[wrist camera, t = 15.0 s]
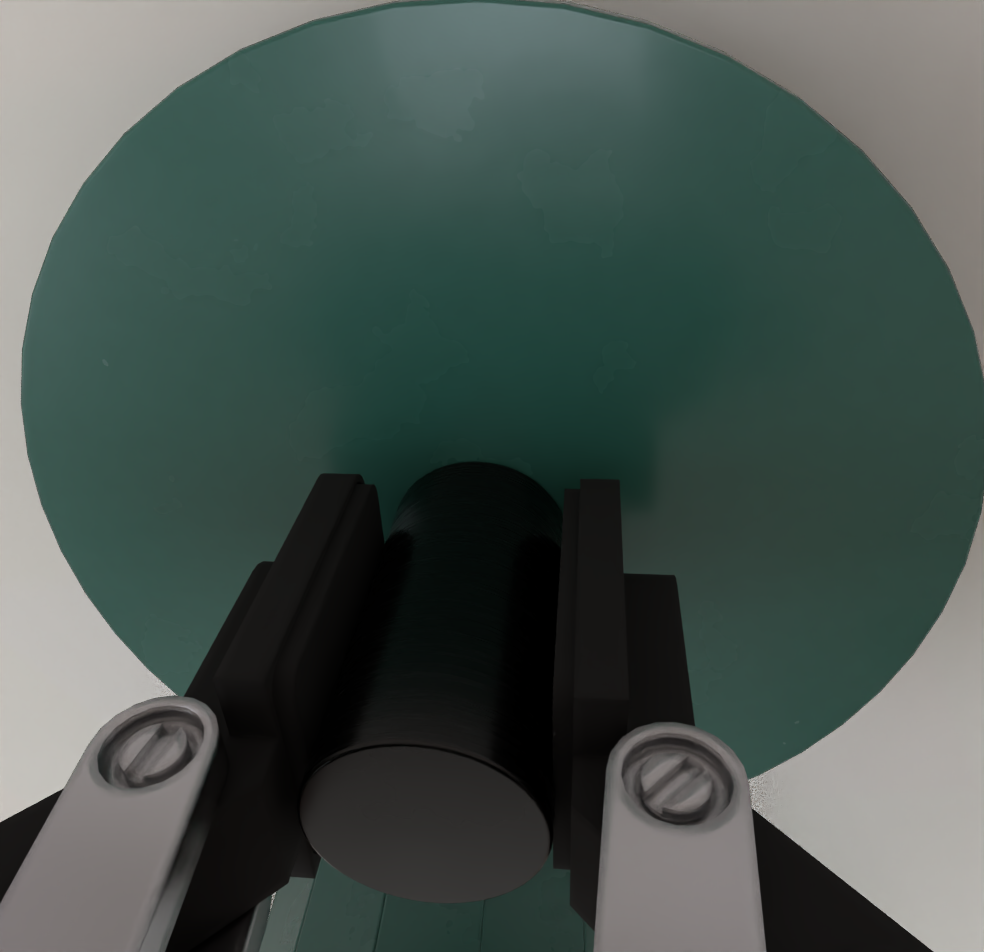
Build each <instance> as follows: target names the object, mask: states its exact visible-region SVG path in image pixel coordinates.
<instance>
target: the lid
mask: <svg viewBox="0 0 984 952" xmlns="http://www.w3.org/2000/svg"><path fill="white" fill-rule="evenodd" d="M21 408H22V415H23V423H24V431H25V438H26V446H27V454H28V458H29V462H30V465H31V469H32V473H33V476H34V480H35V483H36V487H37V491H38V494H39V498H40V501H41V505H42V507H43V510H44V512H45V514H46V517H47V519H48V521H49V524H50V526H51V528H52V531H53V533H54V536H55V538H56V540H57V543H58V545H59V547H60V550H61V552H62V553H63V555H64V557H65V559H66V560H67V562H68V564H69V566H70V567H71V569H72V571H73V573H74V574H75V576H76V578H77V579H78V581H79V583H80V585H81V586H82V588H83V590H84V592H85V593H86V595H87V596H88V597H89V599H90V600H91V602H92V603H93V604H94V606H95V607H96V608H97V610H98V611H99V612H100V614H101V615H102V616H103V618H104V619H105V620H106V622H107V623H108V625H109V626H110V627H111V629H112V630H113V631H114V633H115V634H116V635H117V636H118V637H119V638H120V639H121V640H122V641H123V642H124V644H125V645H126V646H127V647H128V648H129V649H130V650H131V651H132V652H133V653H134V654H135V656H136V657H137V658H138V659H139V660H140V661H141V662H142V663H143V664H144V665H145V666H146V668H147V669H148V670H150V671H151V672H152V673H153V674H154V675H155V676H156V677H157V678H159V679H160V680H161V681H162V682H163V683H164V684H165V685H166V686H167V687H169V688H170V689H171V690H172V691H173V692H174V693H175V694H176V695H178V696H183V697H184V695H185V693H186V691H187V689H188V688H189V686H190V684H191V682H192V680H193V679H194V677H195V675H196V673H197V671H198V669H199V668H200V666H201V664H202V662H203V660H204V659H205V657H206V655H207V653H208V651H209V649H210V648H211V646H212V644H213V642H214V640H215V639H216V637H217V635H218V633H219V631H220V629H221V628H222V626H223V624H224V622H225V620H226V618H227V617H228V615H229V613H230V611H231V609H232V608H233V606H234V604H235V602H236V600H237V598H238V597H239V595H240V593H241V591H242V589H243V588H244V586H245V584H246V582H247V580H248V578H249V577H250V575H251V573H252V571H253V570H254V568H255V567H256V566H257V564H259V563H261V562H263V561H275V559H276V557H277V555H278V553H279V551H280V549H281V547H282V545H283V543H284V541H285V540H286V538H287V536H288V534H289V532H290V530H291V528H292V526H293V524H294V522H295V520H296V519H297V517H298V515H299V513H300V511H301V509H302V507H303V505H304V503H305V501H306V499H307V498H308V496H309V494H310V492H311V490H312V488H313V486H314V484H315V482H316V480H317V478H318V477H319V476H320V474H323V473H335V474H360V475H361V476H362V477H363V480H364V483H365V484H374V485H375V486H376V488H377V493H378V499H379V506H380V514H381V521H382V528H383V536H384V543H385V546H384V549H383V552H382V555H381V558H380V560H379V563H378V566H377V569H376V572H375V575H374V578H373V580H372V583H371V586H370V589H369V592H368V595H367V597H366V600H365V603H364V606H363V609H362V612H361V614H360V617H359V620H358V623H357V626H356V629H355V632H354V634H353V637H352V640H351V643H350V646H349V649H348V651H347V654H346V657H345V660H344V663H343V666H342V668H341V671H340V674H339V677H338V680H337V683H336V686H335V688H334V691H333V694H332V697H331V700H330V703H329V705H328V708H327V711H326V714H325V717H324V720H323V722H322V725H321V728H320V731H319V734H318V737H317V740H316V742H315V745H314V748H313V751H312V754H311V757H310V759H309V762H308V765H307V768H306V771H305V774H304V776H303V779H302V782H301V785H300V788H299V791H298V794H297V803H296V805H297V815H298V820H299V823H300V827H301V829H302V831H303V833H304V835H305V837H306V839H307V840H308V842H309V843H310V845H311V846H312V847H313V849H314V850H315V851H316V852H317V853H318V854H319V855H320V856H321V857H322V858H323V859H324V860H325V861H326V862H328V863H329V864H330V865H331V866H332V867H334V868H335V869H337V870H338V871H339V872H341V873H342V874H344V875H346V876H347V877H349V878H351V879H353V880H354V881H356V882H358V883H360V884H363V885H365V886H367V887H369V888H372V889H374V890H377V891H380V892H382V893H385V894H389V895H392V896H396V897H400V898H404V899H409V900H414V901H421V902H428V903H443V904H446V903H468V902H476V901H482V900H487V899H491V898H494V897H498V896H501V895H504V894H506V893H509V892H511V891H513V890H515V889H517V888H519V887H521V886H522V885H524V884H525V883H527V882H528V881H529V880H531V879H532V878H533V877H534V876H535V875H536V874H537V873H538V872H539V871H540V870H541V868H542V867H543V865H544V864H545V862H546V861H547V859H548V857H549V854H550V852H551V849H552V844H553V837H554V816H555V788H554V783H553V725H552V713H553V678H554V660H555V643H556V626H557V609H558V592H559V575H560V558H561V542H562V525H563V508H564V491H565V489H580V479H615V480H620V500H621V524H622V547H623V570H624V573H630V574H660V575H675V577H676V581H677V586H678V594H679V602H680V610H681V618H682V626H683V634H684V642H685V650H686V658H687V665H688V673H689V681H690V689H691V697H692V705H693V713H694V721H695V726H696V727H698V728H700V729H702V730H704V731H707V732H709V733H711V734H713V735H715V736H717V737H718V738H719V739H720V740H721V741H723V742H724V743H725V744H726V745H727V746H729V747H730V748H731V749H732V750H733V751H734V753H735V754H736V756H737V757H738V758H739V760H740V761H741V763H742V764H743V766H744V768H745V772H746V775H747V778H748V780H749V779H751V778H754V777H756V776H759V775H761V774H762V773H764V772H766V771H768V770H770V769H772V768H774V767H776V766H777V765H779V764H781V763H783V762H785V761H787V760H789V759H791V758H792V757H794V756H796V755H798V754H800V753H802V752H803V751H805V750H806V749H808V748H809V747H811V746H812V745H814V744H815V743H816V742H818V741H819V740H821V739H822V738H824V737H825V736H827V735H828V734H830V733H831V732H833V731H834V730H836V729H837V728H839V727H840V726H841V725H843V724H844V723H845V722H846V721H847V720H849V719H850V718H851V717H852V716H853V715H854V714H855V713H857V712H858V711H859V710H860V709H861V708H862V707H863V706H865V705H866V704H867V703H868V702H869V701H870V700H872V699H873V698H874V697H875V696H876V695H877V694H878V693H880V692H881V690H882V689H883V688H884V687H885V686H886V685H887V684H888V683H889V681H890V680H891V679H892V678H893V677H894V676H895V675H896V674H897V673H898V671H899V670H900V669H901V668H902V667H903V666H904V665H905V664H906V662H907V661H908V660H909V659H910V658H911V657H912V656H913V655H914V653H915V652H916V650H917V649H918V647H919V646H920V644H921V643H922V641H923V640H924V638H925V637H926V635H927V634H928V632H929V631H930V630H931V628H932V627H933V625H934V624H935V622H936V621H937V619H938V618H939V616H940V615H941V613H942V612H943V610H944V608H945V605H946V603H947V601H948V599H949V597H950V595H951V593H952V591H953V589H954V587H955V585H956V583H957V581H958V579H959V576H960V574H961V572H962V570H963V568H964V566H965V564H966V561H967V557H968V554H969V551H970V547H971V544H972V541H973V538H974V534H975V531H976V528H977V524H978V521H979V518H980V515H981V511H982V503H983V496H984V377H983V372H982V367H981V362H980V358H979V353H978V348H977V343H976V339H975V334H974V330H973V328H972V325H971V323H970V320H969V318H968V315H967V313H966V310H965V307H964V305H963V302H962V300H961V297H960V295H959V292H958V290H957V287H956V285H955V282H954V280H953V277H952V275H951V272H950V270H949V268H948V266H947V264H946V263H945V261H944V260H943V258H942V256H941V255H940V253H939V251H938V250H937V248H936V246H935V245H934V243H933V242H932V240H931V238H930V237H929V235H928V233H927V232H926V230H925V228H924V227H923V225H922V224H921V222H920V220H919V219H918V217H917V215H916V214H915V212H914V210H913V209H912V207H911V206H910V205H909V204H908V203H907V201H906V200H905V199H904V198H903V197H902V196H901V195H900V193H899V192H898V191H897V190H896V189H895V188H894V186H893V185H892V184H891V183H890V182H889V181H888V180H887V178H886V177H885V176H884V175H883V174H882V173H881V171H880V170H879V169H878V168H877V167H876V166H875V165H874V163H873V162H872V161H871V160H870V159H869V158H868V156H867V155H866V154H865V153H864V152H863V151H862V150H861V149H860V148H859V147H858V146H856V145H855V144H854V143H853V142H852V141H850V140H849V139H848V138H847V137H846V136H845V135H843V134H842V133H841V132H840V131H839V130H837V129H836V128H835V127H834V126H833V125H831V124H830V123H829V122H828V121H827V120H825V119H824V118H823V117H822V116H821V115H819V114H818V113H817V112H816V111H815V110H813V109H812V108H811V107H810V106H809V105H807V104H806V103H805V102H804V101H803V100H801V99H800V98H799V97H797V96H796V95H795V94H793V93H792V92H790V91H789V90H787V89H785V88H784V87H782V86H780V85H779V84H777V83H775V82H774V81H772V80H770V79H769V78H767V77H765V76H764V75H762V74H760V73H759V72H757V71H755V70H754V69H752V68H750V67H749V66H747V65H745V64H744V63H742V62H740V61H739V60H737V59H735V58H734V57H732V56H730V55H729V54H727V53H725V52H724V51H721V50H719V49H716V48H714V47H712V46H709V45H707V44H704V43H702V42H699V41H697V40H694V39H692V38H689V37H687V36H684V35H682V34H680V33H677V32H675V31H672V30H670V29H667V28H665V27H662V26H660V25H657V24H655V23H652V22H650V21H648V20H644V19H640V18H635V17H631V16H627V15H623V14H619V13H615V12H610V11H606V10H602V9H598V8H594V7H589V6H585V5H581V4H577V3H573V2H569V1H561V0H398V1H393V2H389V3H384V4H380V5H376V6H371V7H367V8H362V9H358V10H354V11H349V12H345V13H340V14H336V15H332V16H327V17H323V18H319V19H315V20H312V21H310V22H307V23H305V24H302V25H300V26H297V27H295V28H292V29H290V30H287V31H285V32H282V33H280V34H277V35H275V36H272V37H270V38H267V39H265V40H262V41H260V42H257V43H255V44H252V45H250V46H247V47H245V48H242V49H240V50H238V51H237V52H235V53H234V54H232V55H230V56H229V57H227V58H225V59H224V60H222V61H220V62H219V63H217V64H215V65H214V66H212V67H210V68H209V69H207V70H205V71H204V72H202V73H201V74H199V75H197V76H196V77H194V78H192V79H191V80H189V81H187V82H186V83H184V84H182V85H181V86H179V87H177V88H176V89H175V90H174V91H173V92H172V93H170V94H169V95H168V96H167V97H166V98H165V99H163V100H162V101H161V102H160V103H159V104H158V105H157V106H155V107H154V108H153V109H152V110H151V111H150V112H148V113H147V114H146V115H145V116H144V117H143V118H141V119H140V120H139V121H138V122H137V123H136V124H135V125H133V126H132V127H131V128H130V129H129V130H128V131H126V132H125V133H124V134H123V136H122V137H121V138H120V139H119V140H118V142H117V143H116V144H115V145H114V147H113V148H112V149H111V150H110V151H109V153H108V154H107V155H106V156H105V158H104V159H103V160H102V161H101V162H100V164H99V165H98V166H97V167H96V168H95V170H94V171H93V172H92V173H91V175H90V176H89V177H88V178H87V179H86V181H85V182H84V183H83V185H82V186H81V188H80V190H79V192H78V193H77V195H76V197H75V199H74V200H73V202H72V204H71V206H70V207H69V209H68V211H67V213H66V215H65V216H64V218H63V220H62V222H61V223H60V225H59V227H58V229H57V230H56V232H55V234H54V236H53V237H52V240H51V243H50V246H49V249H48V251H47V254H46V257H45V260H44V262H43V265H42V268H41V271H40V274H39V276H38V279H37V282H36V285H35V287H34V290H33V293H32V298H31V303H30V309H29V314H28V320H27V325H26V331H25V336H24V342H23V347H22V378H21Z"/></svg>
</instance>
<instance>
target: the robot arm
mask: <svg viewBox="0 0 984 952" xmlns="http://www.w3.org/2000/svg"><path fill="white" fill-rule="evenodd" d="M384 546H385V543H384V536H383V528H382V521H381V514H380V506H379V499H378V493H377V488H376V486H375V485H374V484H365V483H364V480H363V477H362V476H361V475H360V474H335V473H323V474H320V476H319V477H318V478H317V480H316V482H315V484H314V486H313V488H312V490H311V492H310V494H309V496H308V498H307V499H306V501H305V503H304V505H303V507H302V509H301V511H300V513H299V515H298V517H297V519H296V520H295V522H294V524H293V526H292V528H291V530H290V532H289V534H288V536H287V538H286V540H285V541H284V543H283V545H282V547H281V549H280V551H279V553H278V555H277V557H276V559H275V561H263V562H261V563H259V564H257V566H256V567H255V568H254V570H253V571H252V573H251V575H250V577H249V578H248V580H247V582H246V584H245V586H244V588H243V589H242V591H241V593H240V595H239V597H238V598H237V600H236V602H235V604H234V606H233V608H232V609H231V611H230V613H229V615H228V617H227V618H226V620H225V622H224V624H223V626H222V628H221V629H220V631H219V633H218V635H217V637H216V639H215V640H214V642H213V644H212V646H211V648H210V649H209V651H208V653H207V655H206V657H205V659H204V660H203V662H202V664H201V666H200V668H199V669H198V671H197V673H196V675H195V677H194V679H193V680H192V682H191V684H190V686H189V688H188V689H187V691H186V693H185V695H184V697H183V696H167V697H158V698H153V699H150V700H147V701H144V702H141V703H138V704H135V705H133V706H132V707H130V708H128V709H126V710H125V711H123V712H121V713H119V714H117V715H116V716H115V717H113V718H112V719H111V720H110V721H109V722H108V723H106V724H105V725H104V726H103V727H102V728H100V730H99V731H98V732H97V734H96V735H95V736H94V738H93V739H92V740H91V742H90V743H89V744H88V746H87V748H86V750H85V751H84V753H83V755H82V757H81V759H80V760H79V762H78V764H77V766H76V768H75V769H74V771H73V773H72V775H71V777H70V778H69V780H68V782H67V784H66V786H65V787H64V789H62V790H60V791H58V792H56V793H54V794H53V795H51V796H49V797H47V798H45V799H43V800H41V801H39V802H38V803H36V804H34V805H32V806H30V807H28V808H26V809H25V810H23V811H21V812H19V813H17V814H15V815H13V816H11V817H10V818H8V819H6V820H4V821H2V822H0V952H259V950H260V947H261V943H262V939H263V935H264V932H265V928H266V924H267V921H268V917H269V913H270V906H271V897H272V894H273V893H275V892H276V891H278V890H279V889H281V888H282V887H284V886H285V885H286V884H288V883H289V879H290V877H299V878H312V879H315V877H316V873H317V870H318V867H319V863H320V860H321V856H320V855H319V854H318V853H317V852H316V851H315V850H314V849H313V847H312V846H311V845H310V843H309V842H308V840H307V839H306V837H305V835H304V833H303V831H302V829H301V827H300V823H299V820H298V815H297V805H296V803H297V794H298V791H299V788H300V785H301V782H302V779H303V776H304V774H305V771H306V768H307V765H308V762H309V759H310V757H311V754H312V751H313V748H314V745H315V742H316V740H317V737H318V734H319V731H320V728H321V725H322V722H323V720H324V717H325V714H326V711H327V708H328V705H329V703H330V700H331V697H332V694H333V691H334V688H335V686H336V683H337V680H338V677H339V674H340V671H341V668H342V666H343V663H344V660H345V657H346V654H347V651H348V649H349V646H350V643H351V640H352V637H353V634H354V632H355V629H356V626H357V623H358V620H359V617H360V614H361V612H362V609H363V606H364V603H365V600H366V597H367V595H368V592H369V589H370V586H371V583H372V580H373V578H374V575H375V572H376V569H377V566H378V563H379V560H380V558H381V555H382V552H383V549H384ZM552 725H553V783H554V788H555V816H554V837H553V869H564V870H570V906H571V907H572V908H573V909H574V910H575V911H576V912H577V913H578V915H579V916H580V917H581V918H582V919H583V920H584V921H585V922H586V923H587V924H588V925H589V926H590V927H591V928H592V930H593V931H594V932H595V936H594V951H593V952H933V951H932V950H930V949H929V948H928V947H927V946H925V945H924V944H923V943H922V942H920V941H919V940H918V939H917V938H915V937H914V936H913V935H911V934H910V933H909V932H908V931H906V930H905V929H904V928H903V927H901V926H900V925H899V924H898V923H896V922H895V921H894V920H892V919H891V918H890V917H889V916H887V915H886V914H885V913H884V912H882V911H881V910H880V909H879V908H877V907H876V906H875V905H874V904H872V903H871V902H870V901H868V900H867V899H866V898H865V897H863V896H862V895H861V894H860V893H858V892H857V891H856V890H855V889H853V888H852V887H851V886H849V885H848V884H847V883H846V882H844V881H843V880H842V879H841V878H839V877H838V876H837V875H836V874H834V873H833V872H832V871H830V870H829V869H828V868H827V867H825V866H824V865H823V864H822V863H820V862H819V861H818V860H817V859H815V858H814V857H813V856H812V855H810V854H809V853H808V852H806V851H805V850H804V849H803V848H801V847H800V846H799V845H798V844H796V843H795V842H794V841H793V840H791V839H790V838H789V837H787V836H786V835H785V834H784V833H782V832H781V831H780V830H779V829H777V828H776V827H775V826H774V825H772V824H771V823H770V822H768V821H767V820H766V819H765V818H763V817H762V816H761V815H760V814H758V813H757V812H756V811H755V810H753V809H752V806H751V796H750V786H749V782H748V778H747V775H746V772H745V768H744V766H743V764H742V763H741V761H740V760H739V758H738V757H737V756H736V754H735V753H734V751H733V750H732V749H731V748H730V747H729V746H727V745H726V744H725V743H724V742H723V741H721V740H720V739H719V738H718V737H717V736H715V735H713V734H711V733H709V732H707V731H704V730H702V729H700V728H698V727H696V726H695V721H694V713H693V705H692V697H691V689H690V681H689V673H688V665H687V658H686V650H685V642H684V634H683V626H682V618H681V610H680V602H679V594H678V586H677V581H676V577H675V575H660V574H630V573H624V570H623V547H622V524H621V500H620V480H615V479H580V489H565V491H564V508H563V525H562V542H561V558H560V575H559V592H558V609H557V626H556V643H555V660H554V678H553V713H552Z"/></svg>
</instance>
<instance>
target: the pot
mask: <svg viewBox="0 0 984 952" xmlns="http://www.w3.org/2000/svg"><path fill="white" fill-rule="evenodd" d="M594 936H595V932H594V931H593V930H592V928H591V927H590V926H589V925H588V924H587V923H586V922H585V921H584V920H583V919H582V918H581V917H580V916H579V915H578V913H577V912H576V911H575V910H574V909H573V908H572V907H571V906H570V870H564V869H553V844H552V849H551V852H550V854H549V857H548V859H547V861H546V862H545V864H544V865H543V867H542V868H541V870H540V871H539V872H538V873H537V874H536V875H535V876H534V877H533V878H532V879H531V880H529V881H528V882H527V883H525V884H524V885H522V886H521V887H519V888H517V889H515V890H513V891H511V892H509V893H506V894H504V895H501V896H498V897H494V898H491V899H487V900H482V901H476V902H468V903H446V904H443V903H428V902H421V901H414V900H409V899H404V898H400V897H396V896H392V895H389V894H385V893H382V892H380V891H377V890H374V889H372V888H369V887H367V886H365V885H363V884H360V883H358V882H356V881H354V880H353V879H351V878H349V877H347V876H346V875H344V874H342V873H341V872H339V871H338V870H337V869H335V868H334V867H332V866H331V865H330V864H329V863H328V862H326V861H325V860H324V859H323V858H322V857H321V860H320V863H319V867H318V870H317V873H316V877H315V879H312V878H299V877H290V879H289V883H288V884H286V885H285V886H284V887H282V888H281V889H279V890H278V891H277V892H276V895H275V898H274V902H273V905H272V908H271V911H270V914H269V918H268V921H267V924H266V928H265V932H264V935H263V939H262V943H261V947H260V950H259V952H593V951H594Z"/></svg>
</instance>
